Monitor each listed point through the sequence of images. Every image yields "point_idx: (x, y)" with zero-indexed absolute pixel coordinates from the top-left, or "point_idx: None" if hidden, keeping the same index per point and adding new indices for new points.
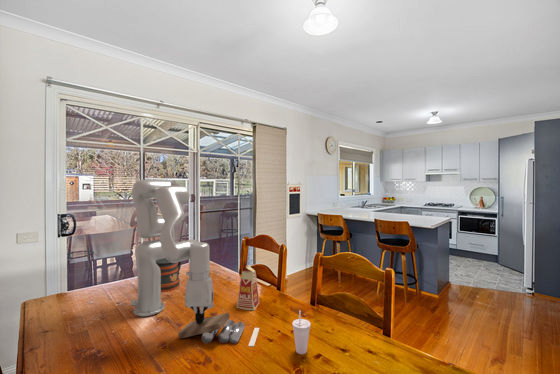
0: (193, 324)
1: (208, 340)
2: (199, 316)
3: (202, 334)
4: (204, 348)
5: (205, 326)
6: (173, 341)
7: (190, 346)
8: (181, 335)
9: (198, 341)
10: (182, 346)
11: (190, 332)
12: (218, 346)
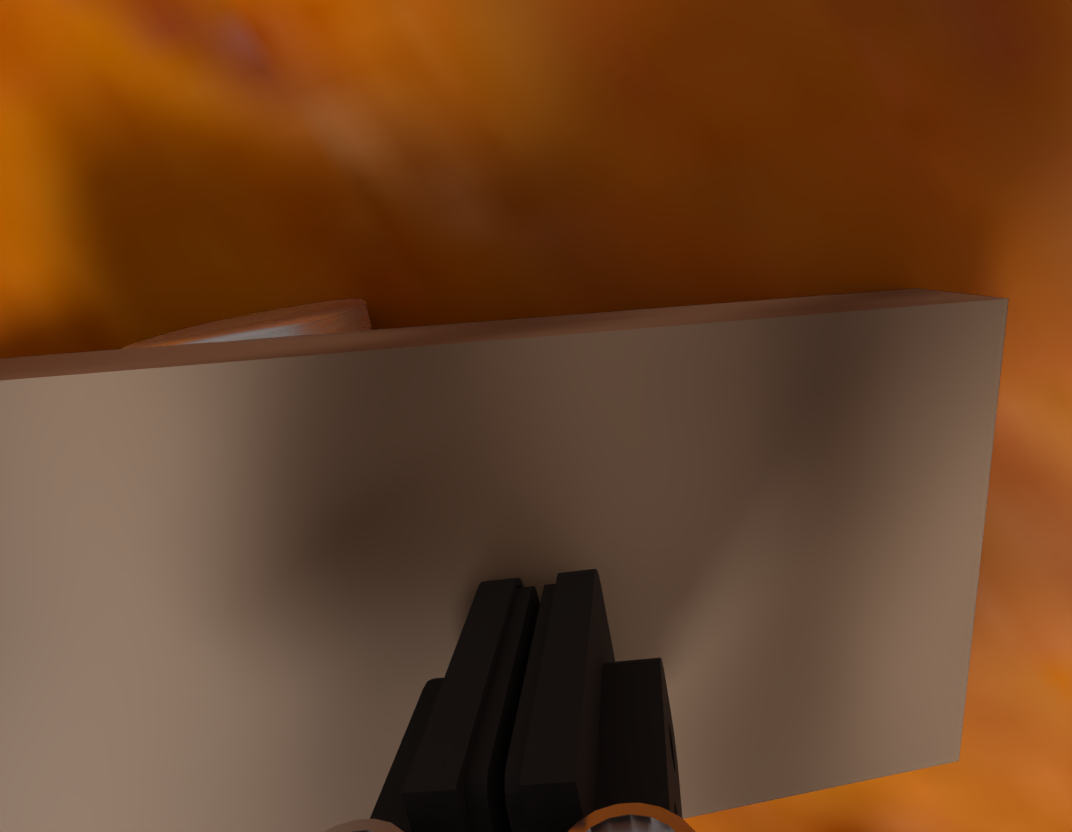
0: (759, 632)
1: (235, 318)
2: (457, 721)
3: (307, 321)
4: (227, 138)
5: (135, 400)
6: (1002, 164)
7: (523, 112)
8: (887, 297)
9: (471, 311)
10: (688, 58)
11: (642, 321)
12: (43, 269)
